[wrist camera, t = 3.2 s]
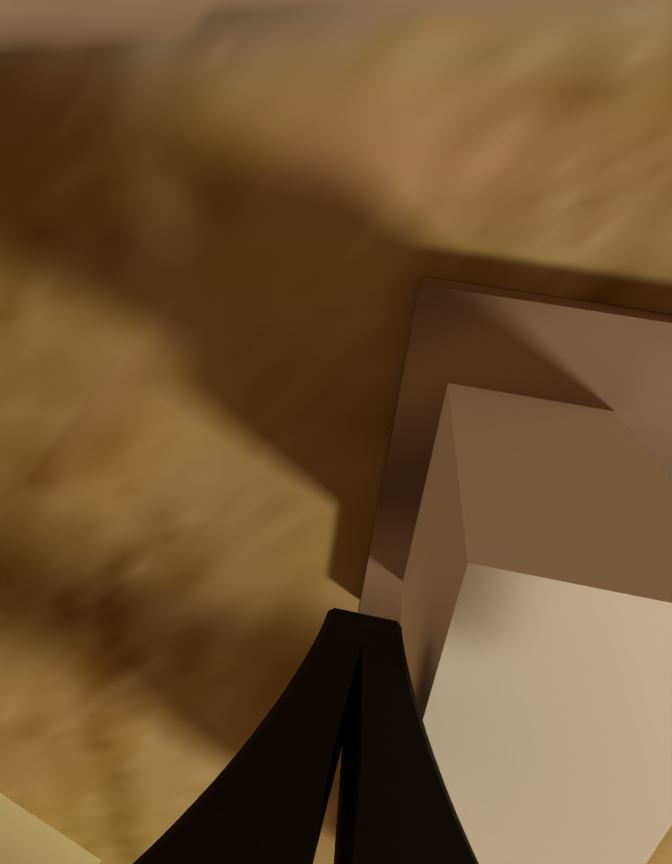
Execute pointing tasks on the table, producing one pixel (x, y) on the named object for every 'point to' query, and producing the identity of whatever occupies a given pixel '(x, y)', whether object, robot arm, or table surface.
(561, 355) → the brown flat slab
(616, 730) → the carton
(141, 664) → the table surface
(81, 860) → the slatted curved stool
